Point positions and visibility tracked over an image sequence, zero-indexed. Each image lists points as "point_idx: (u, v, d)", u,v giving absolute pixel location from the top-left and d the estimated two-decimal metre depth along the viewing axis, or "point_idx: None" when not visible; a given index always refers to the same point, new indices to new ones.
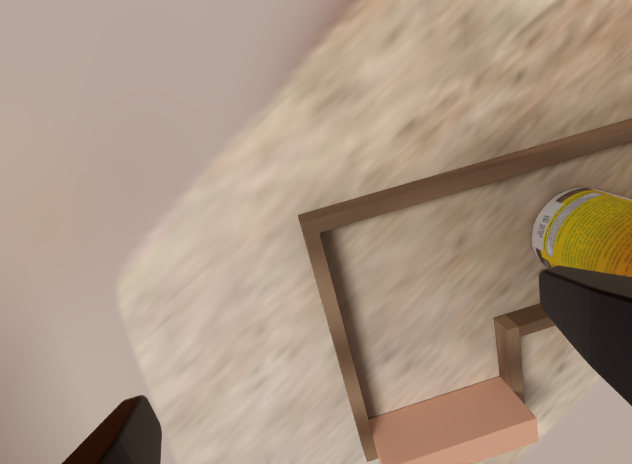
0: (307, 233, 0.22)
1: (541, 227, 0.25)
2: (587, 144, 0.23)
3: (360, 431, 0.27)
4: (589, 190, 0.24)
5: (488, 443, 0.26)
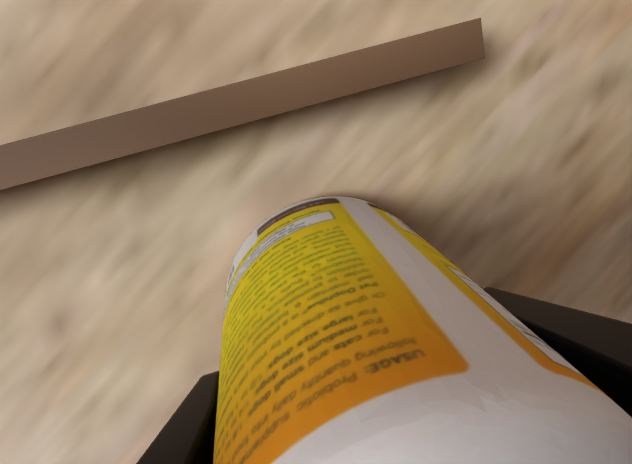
0: None
1: None
2: (284, 82, 0.09)
3: None
4: (325, 205, 0.10)
5: None
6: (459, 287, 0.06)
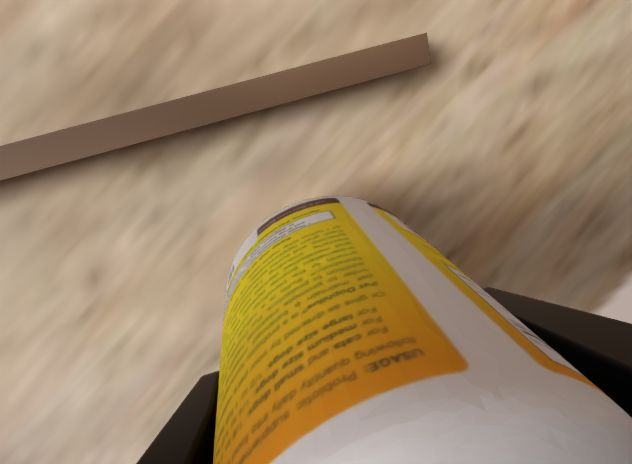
0: None
1: None
2: (275, 83, 0.11)
3: None
4: (325, 205, 0.10)
5: None
6: (459, 287, 0.06)
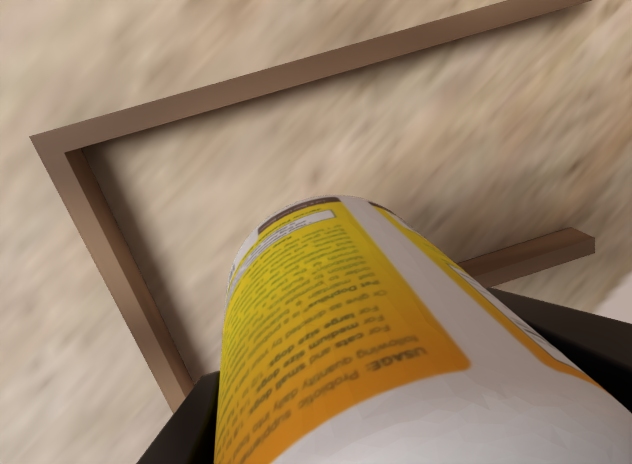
0: (44, 153, 0.14)
1: (226, 293, 0.10)
2: (482, 14, 0.15)
3: None
4: (326, 204, 0.10)
5: None
6: (460, 286, 0.06)
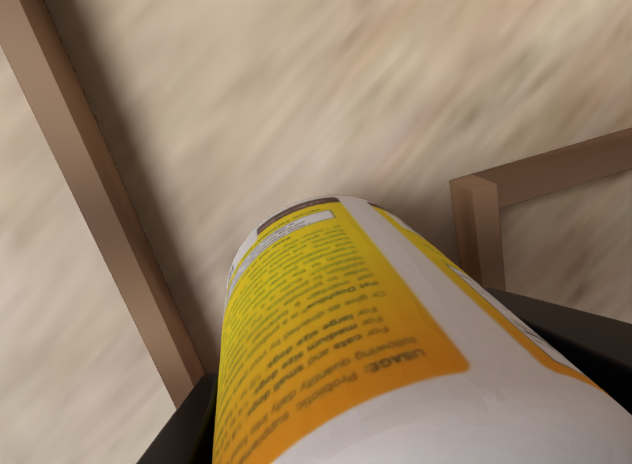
0: None
1: (225, 293, 0.10)
2: None
3: (177, 403, 0.14)
4: (325, 204, 0.10)
5: None
6: (460, 286, 0.06)
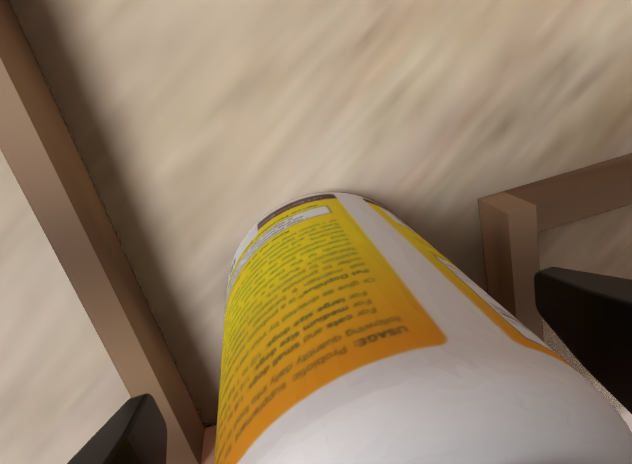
0: None
1: (227, 285, 0.11)
2: None
3: None
4: (323, 200, 0.10)
5: None
6: (445, 274, 0.06)
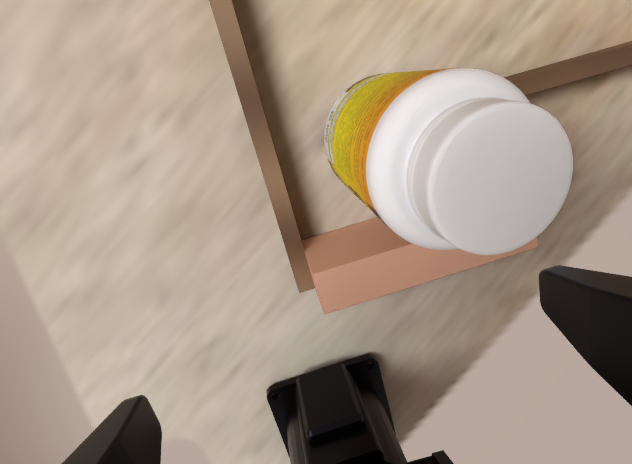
0: None
1: (327, 128, 0.18)
2: None
3: (285, 241, 0.19)
4: None
5: None
6: None
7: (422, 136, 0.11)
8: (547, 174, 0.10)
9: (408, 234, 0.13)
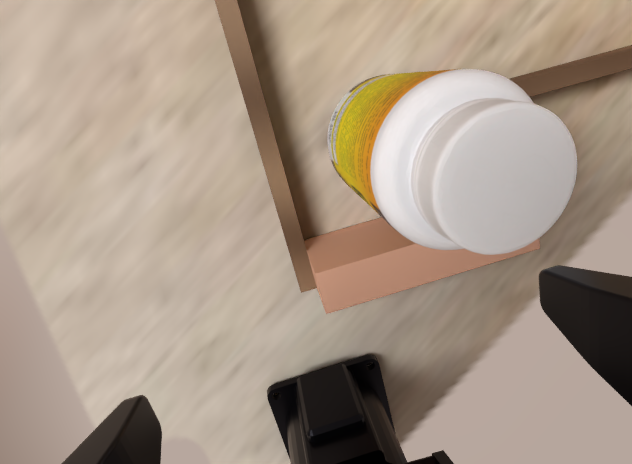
0: None
1: (330, 128, 0.18)
2: None
3: (288, 240, 0.19)
4: (389, 74, 0.18)
5: None
6: None
7: (427, 136, 0.11)
8: (551, 175, 0.11)
9: (412, 234, 0.13)
